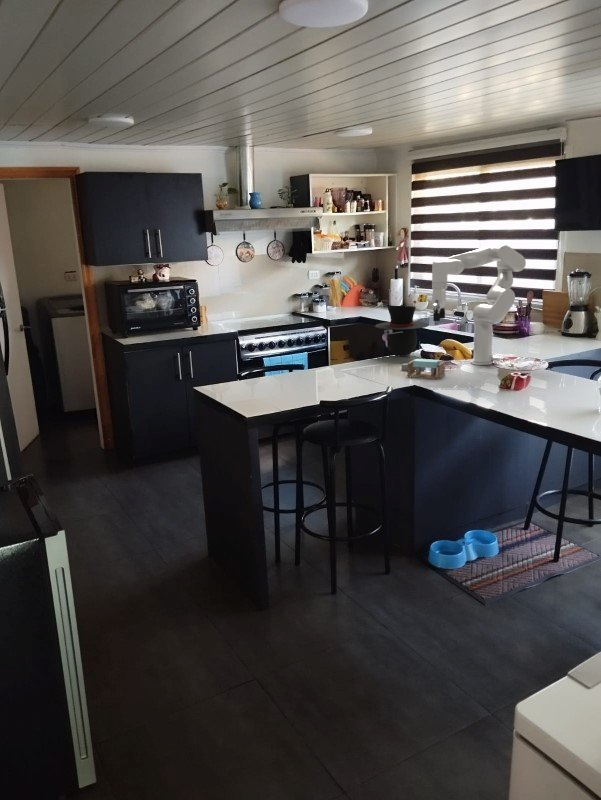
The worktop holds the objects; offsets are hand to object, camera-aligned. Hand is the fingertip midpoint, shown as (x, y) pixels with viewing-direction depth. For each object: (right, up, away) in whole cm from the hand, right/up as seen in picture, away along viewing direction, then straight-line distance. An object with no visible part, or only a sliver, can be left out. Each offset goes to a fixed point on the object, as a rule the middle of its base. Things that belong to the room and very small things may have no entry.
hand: (439, 319), depth 319 cm
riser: (-12, -26, +8) cm, 29 cm away
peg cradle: (-8, -29, -6) cm, 31 cm away
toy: (-12, -16, +46) cm, 50 cm away
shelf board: (-8, -24, -7) cm, 27 cm away
